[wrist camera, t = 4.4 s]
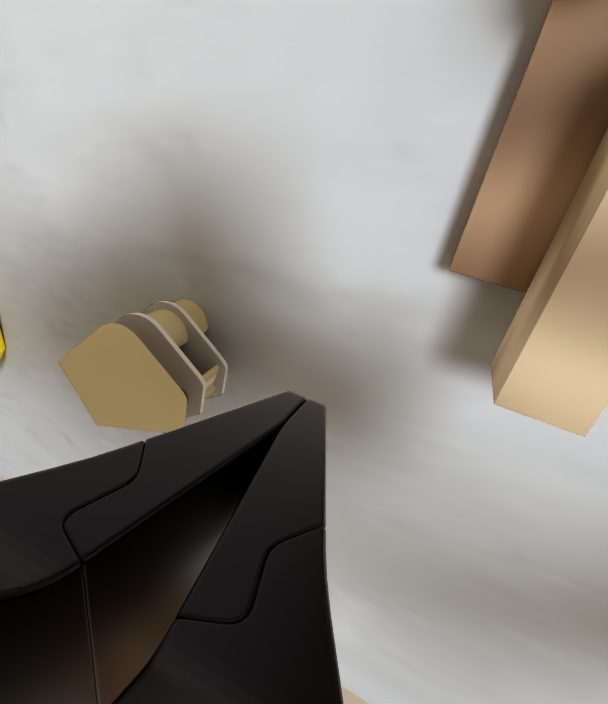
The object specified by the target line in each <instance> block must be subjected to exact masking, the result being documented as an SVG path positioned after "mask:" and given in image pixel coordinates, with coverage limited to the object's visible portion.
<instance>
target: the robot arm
mask: <svg viewBox="0 0 608 704" xmlns="http://www.w3.org/2000/svg"><path fill="white" fill-rule="evenodd" d="M325 527H326V408H325V406H324V405H323V404H320V403H317V402H315V401H312V400H306V399H305V397H302V396H300V395H298V394H295V393H293V392H285V393H282V394H279V395H276V396H273V397H270V398H267V399H264V400H261V401H258V402H255V403H252V404H250V405H247V406H244V407H241V408H238V409H235V410H232V411H229V412H226V413H223V414H220V415H217V416H214V417H211V418H208V419H205V420H203V421H200V422H197V423H194V424H191V425H188V426H185V427H182V428H179V429H176V430H173V431H170V432H167V433H164V434H161V435H159V436H156V437H153V438H150V439H147V440H146V441H145V442H144V441H140V442H138V443H135V444H132V445H129V446H126V447H123V448H120V449H117V450H113V451H110V452H107V453H104V454H101V455H98V456H94V457H91V458H88V459H84V460H80V461H77V462H73V463H69V464H66V465H62V466H58V467H55V468H51V469H47V470H43V471H39V472H35V473H31V474H27V475H23V476H19V477H16V478H12V479H8V480H4V481H0V704H343V697H342V690H341V683H340V676H339V669H338V662H337V655H336V648H335V641H334V634H333V627H332V620H331V612H330V602H329V593H328V583H327V566H326V530H325Z"/></svg>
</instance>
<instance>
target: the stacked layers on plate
mask: <svg viewBox="0 0 608 704" xmlns="http://www.w3.org/2000/svg"><path fill="white" fill-rule="evenodd" d="M207 329H208V323H207V318H206V316H205V314H204V312H203V310H202V309H201V308H200V307H199V306H198V305H197V304H196V303H194V302H193V301H190V300H186V299H182V300H179V301H176V302H174V303H173V302H170V301H159V302H156V303H154V304H152V305H150V306H149V307H148V308H146V309H145V310H144V311H143V312H141V313H137V312H135V313H130V314H127V315H125V316H123V317H122V318H120V319H119V320H118V321H117V322H115V323H106V324H104V325H102V326H101V327H99V328H98V329H97V330H96V331H95V332H93V333H92V334H91V335H90V336H88V337H87V338H86V339H85V340H84V341H82V342H81V343H80V344H79V345H77V346H76V347H75V348H74V349H73V350H71V351H70V352H69V353H68V354H66V355H65V356H64V357H63V358H62V359H60V360H59V362H58V363H59V365H60V367H61V368H62V370H63V371H64V373H65V375H66V376H67V378H68V379H69V381H70V383H71V384H72V386H73V387H74V389H75V391H76V392H77V394H78V396H79V397H80V399H81V400H82V402H83V404H84V405H85V407H86V408H87V410H88V412H89V413H90V415H91V416H92V418H93V420H94V421H95V423H96V424H97V425H99V426H108V427H117V428H126V429H135V430H145V431H154V432H163V433H165V432H170V431H173V430H176V429H179V428H182V427H184V425H185V418H187V417H190V416H194V415H198V414H200V413H201V412H202V411H203V406H204V399H208V398H212V397H215V396H219V395H221V394H222V393H224V390H225V384H226V378H227V372H228V365H227V363H226V361H225V359H224V358H223V357H222V356H221V354H220V353H219V352H218V351H217V349H216V348H215V347H214V346H213V344H212V343H211V342H210V341H209V339H208V338H207V337H206V336H205V334H204V333H203V332H205V331H207Z"/></svg>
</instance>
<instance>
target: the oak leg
mask: <svg viewBox="0 0 608 704" xmlns="http://www.w3.org/2000/svg"><path fill="white" fill-rule="evenodd" d="M491 374H492V387H493V400H494V404H495V405H497V406H500V407H503V408H506V409H508V410H511V411H514V412H517V413H520V414H522V415H525V416H528V417H531V418H533V419H536V420H539V421H542V422H544V423H547V424H550V425H553V426H555V427H558V428H561V429H564V430H566V431H569V432H572V433H575V434H577V435H580V436H583V437H585V436H586V434H587V433H588V431H589V430H590V428H591V427H592V426H593V424H594V423H595V421H596V420H597V418H598V417H599V416H600V414H601V413H602V411H603V410H604V409H605V407H606V406H607V404H608V129H607V131H606V133H605V136H604V138H603V140H602V142H601V144H600V146H599V148H598V150H597V152H596V154H595V156H594V158H593V160H592V162H591V164H590V166H589V168H588V170H587V172H586V174H585V176H584V178H583V180H582V182H581V184H580V186H579V188H578V190H577V192H576V194H575V196H574V198H573V200H572V202H571V204H570V206H569V208H568V210H567V212H566V214H565V216H564V218H563V220H562V222H561V224H560V226H559V228H558V230H557V232H556V234H555V236H554V238H553V240H552V242H551V244H550V246H549V248H548V250H547V252H546V254H545V256H544V258H543V260H542V262H541V264H540V266H539V268H538V270H537V272H536V274H535V276H534V278H533V280H532V282H531V284H530V286H529V288H528V290H527V292H526V294H525V296H524V298H523V300H522V302H521V304H520V306H519V308H518V310H517V313H516V315H515V317H514V319H513V321H512V323H511V325H510V327H509V329H508V331H507V333H506V335H505V337H504V339H503V341H502V343H501V345H500V347H499V349H498V351H497V353H496V355H495V357H494V359H493V361H492V363H491Z"/></svg>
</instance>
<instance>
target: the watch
mask: <svg viewBox="0 0 608 704" xmlns="http://www.w3.org/2000/svg"><path fill="white" fill-rule="evenodd" d="M5 349H6V347H5V344H4V340H3V336H2V333H1V329H0V359H1V357H2V355H3V353H4V351H5Z"/></svg>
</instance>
